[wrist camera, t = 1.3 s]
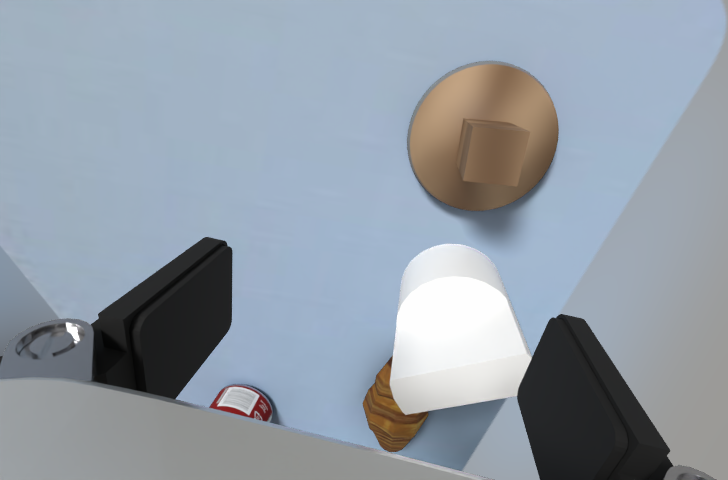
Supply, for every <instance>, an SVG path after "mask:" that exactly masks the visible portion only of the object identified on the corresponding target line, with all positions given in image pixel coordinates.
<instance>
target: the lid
mask: <svg viewBox="0 0 728 480" xmlns="http://www.w3.org/2000/svg"><path fill="white" fill-rule="evenodd" d="M557 142H558V119H557V114H556V110H555V107H554V105H553V102H552V100H551V98H550V97H549V95H548V93H547V92H546V91H545V89H544V88H543V87H542V86H541V84H539V83H538V82H537V81H536V80H535V79H534V78H533V77H531V76H530V75H528V74H527V73H525V72H523V71H520V70H518V69H516V68H513V67H509V66H505V65H498V64H485V65H478V66H473V67H470V68H466V69H464V70H461V71H459V72H457V73H454V74H453V75H451V76H449V77H448V78H446V79H445V80H443V81H442V82H441V83H439V84H438V85H437V86H436V87H435V88H434V89H433V90H432V91H431V92H430V93H429V94H428V96H427V97H426V98H425V99H424V101H423V103H422V104H421V106H420V108H419V110H418V112H417V114H416V116H415V119H414V122H413V125H412V130H411V135H410V154H411V159H412V164H413V167H414V169H415V172H416V174H417V176H418V178H419V180H420V181H421V183H422V184H423V186H424V187H425V188H426V189H427V190H428V191H429V192H430V193H431V194H432V195H433V196H434V197H436V198H437V199H439V200H440V201H442V202H443V203H445V204H448V205H450V206H452V207H455V208H459V209H463V210H470V211H483V210H490V209H496V208H499V207H502V206H505V205H507V204H510V203H512V202H514V201H516V200H517V199H519V198H521V197H522V196H523V195H525V194H526V193H527V192H529V191H530V190H531V189H532V188H533V187H534V186H535V185H536V184H537V183H538V182H539V181H540V179H541V178H542V177H543V176H544V174H545V173H546V171H547V169H548V168H549V166H550V164H551V162H552V160H553V157H554V154H555V151H556V147H557Z"/></svg>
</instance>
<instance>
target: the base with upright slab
mask: <svg viewBox="0 0 728 480" xmlns="http://www.w3.org/2000/svg"><path fill="white" fill-rule="evenodd" d="M531 359H532V356H531V353H530V351H529V348H528V346H527V343H526V341H525V338H524V335H523V333H522V330H521V328H520V325H519V323H518V320H517V318H516V315H515V312H514V310H513V307H512V305H511V302H510V300H509V297H508V295H507V292H506V290H505V287H504V284H503V282H502V279H501V277H500V275H499V273H498V270H497V268H496V266H495V265H494V264H493V262H492V261H491V260H490V259H489V258H488V257H487V256H486V255H484V254H483V253H481V252H480V251H478V250H476V249H474V248H471V247H468V246H465V245H459V244H444V245H438V246H434V247H432V248H429V249H427V250H425V251H422V252H421V253H420V254H419V255H417V256H416V257H415V258H413V259H412V261H411V262H410V263H409V265H408V266H407V267H406V269H405V272H404V274H403V277H402V280H401V288H400V297H399V305H398V313H397V326H396V334H395V342H394V351H393V359H392V367H391V376H390V388H391V391H392V394H393V398H394V400H395V401H396V403H397V405H398V406H399V408H400V409H401V411H402V412H403V413H404V414H405V415H408V414H414V413H420V412H426V411H431V410H437V409H443V408H449V407H455V406H461V405H467V404H473V403H479V402H485V401H491V400H497V399H503V398H508V397H514V396H517V393H518V388H519V385H520V383H521V381H522V379H523V377H524V374H525V372H526V370H527V368H528V366H529V364H530V361H531Z"/></svg>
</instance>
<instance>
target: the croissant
mask: <svg viewBox="0 0 728 480" xmlns="http://www.w3.org/2000/svg"><path fill="white" fill-rule="evenodd" d="M392 359H393V356H392V357H391V358H390V360H389V361H388V362H387V363H386V364H385V366H384V367H383V368H382V369H381V371H380V372H379V373H378V374H377V376H376V380H375V383H374V385H373V386H372V387H371V388H370V389H369V390H368V392H367V394H366V397H365V399H364V402H363V407H364V410H365V414H366V418H367V421H368V425H369V428H370V429H371V430H372V431H373V432H374V434H375V436H376V438H377V440H378V442H379V444H380V446H381V447H382V448H383V449H384V450H387V451H389V452H397V451H399V450H402V449H403V448H404V447H405V446H406V445H407V444H408V442H409V441H410V440H411V439H412V438H413V437H414V436H415V434H416V433H417V431H418V430H419V429H420V427H421V426H422V424H423V423H424V421H425V420H426V418H427V417H428V411H426V412H420V413H414V414H408V415H405V414H404V413H403V412H402V411H401V409H400V408H399V406H398V405H397V403H396V401H395V400H394V398H393V394H392V391H391V388H390V376H391V367H392Z"/></svg>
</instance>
